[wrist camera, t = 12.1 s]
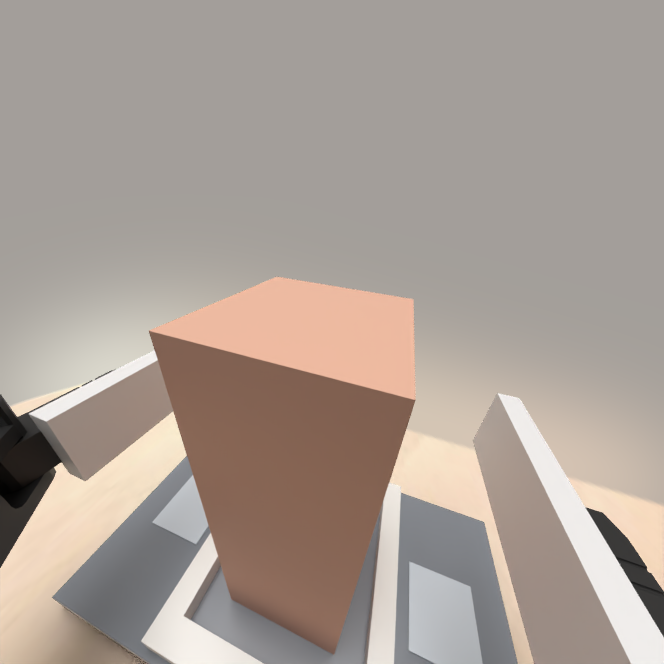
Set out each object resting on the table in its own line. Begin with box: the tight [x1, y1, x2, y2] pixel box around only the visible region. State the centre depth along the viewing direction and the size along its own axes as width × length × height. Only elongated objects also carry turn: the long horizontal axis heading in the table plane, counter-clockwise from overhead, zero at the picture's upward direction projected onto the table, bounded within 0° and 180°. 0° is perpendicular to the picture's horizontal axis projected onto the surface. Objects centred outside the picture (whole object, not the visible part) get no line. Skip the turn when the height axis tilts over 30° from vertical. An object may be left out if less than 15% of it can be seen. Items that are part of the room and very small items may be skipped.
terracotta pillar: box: [149, 277, 415, 655], centre depth 9 cm, size 5×5×14 cm
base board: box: [52, 456, 518, 664], centre depth 13 cm, size 20×10×2 cm, turn 73°
